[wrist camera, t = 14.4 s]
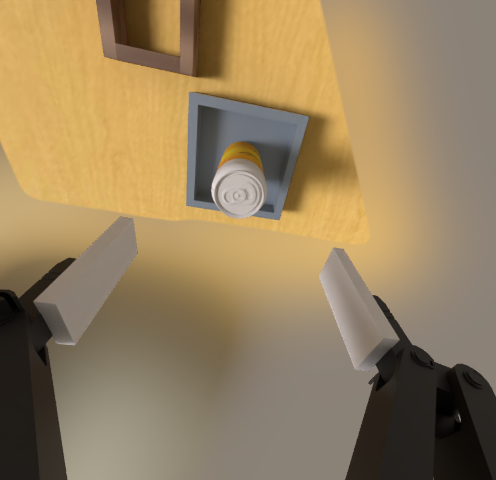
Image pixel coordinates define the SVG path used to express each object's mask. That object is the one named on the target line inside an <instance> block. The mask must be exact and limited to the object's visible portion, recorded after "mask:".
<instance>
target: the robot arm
mask: <svg viewBox="0 0 496 480" xmlns="http://www.w3.org/2000/svg"><path fill="white" fill-rule="evenodd" d="M137 254H138V251H137V244H136V236H135V229H134V221H133V218H127V217H119V218H118V219H117V220H116V221H115V222H114V223H113V224H112V225H111V226H110V227H109V228H108V229H107V230H106V231H105V232H104V233H103V234H102V235H101V236H100V237H99V238H98V239H97V240H96V241H95V242H94V243H93V244H92V245H91V246H90V247H89V248H87V249H86V250H85V252H83V253H82V254H81V255H80V256H79V257H78V258H77V259H75V258H68V259H66V260H64V261H62V262H60V263H58V264H56V265H55V266H54V267H53V268H52V269H51V270H50V271H49V272H48V273H47V274H45V275H44V276H43V277H42V279H41V280H39V281H38V282H36V283H35V284H34V285H33V286H32V287H31V288H30V289H29V290H27V291H26V292H25V293H24V294H23V295H22V296H21V297H20V298H19V299H18V297H17V296H16V294H15V292H13V291H11V290H0V480H67V475H66V467H65V461H64V454H63V447H62V441H61V434H60V427H59V421H58V415H57V407H56V401H55V394H54V387H53V380H52V374H51V368H50V361H49V355H48V348H47V346H46V343H47V341H48V340H49V339H50V338H51V337H52V336H53V338H54V340H55V342H56V343H57V344H68V345H76V343H77V341H78V340H79V339H80V337H81V336H82V334H83V333H84V331H85V330H86V328H87V327H88V325H89V324H90V323H91V321H92V320H93V318H94V317H95V315H96V314H97V312H98V311H99V309H100V307H101V306H102V305H103V303H104V302H105V301H106V299H107V297H108V296H109V295H110V293H111V292H112V290H113V289H114V287H115V286H116V284H117V283H118V281H119V280H120V279H121V277H122V276H123V274H124V273H125V271H126V270H127V268H128V267H129V265H130V264H131V262H132V261H133V259H134V258H135V257H136V255H137ZM319 279H320V281H321V283H322V286H323V289H324V291H325V294H326V297H327V299H328V302H329V304H330V307H331V309H332V311H333V314H334V317H335V319H336V322H337V325H338V327H339V330H340V332H341V335H342V337H343V340H344V342H345V345H346V347H347V350H348V353H349V355H350V357H351V360H352V363H353V365H354V368H355V370H365V371H370V370H371V369H372V367H374V366H375V365H376V366H377V368H378V371H379V372H378V373H377V374H376V375H375V376H374V377H373V378H372V379H371V380H370V381H369V384H370V385H371V384H372V383H373V382H374V384H373V387H372V390H371V394H370V397H369V401H368V404H367V407H366V411H365V414H364V418H363V421H362V424H361V428H360V431H359V435H358V438H357V441H356V445H355V448H354V452H353V455H352V459H351V462H350V465H349V469H348V472H347V476H346V479H345V480H433V478H434V480H496V396H495V394H494V392H493V390H492V388H491V386H490V385H489V383H488V382H487V380H485V378H484V377H483V376H482V375H481V374H480V373H478V372H477V371H476V370H474V369H472V368H471V367H469V366H467V365H464V364H456V365H455V366H454V367H453V368H449V367H446V366H443V365H441V364H438V363H436V362H434V360H433V359H432V358H431V357H430V355H429V354H428V353H426V352H425V351H424V350H423V349H421V348H419V347H417V346H414V345H412V344H411V342H410V341H409V339H408V338H407V336H406V335H405V333H404V332H403V330H402V329H401V327H400V325H399V324H398V322H397V321H396V320H395V319H394V316H393V315H392V313H390V310H389V309H388V307H387V306H386V304H385V303H384V302H383V301H382V300H381V299H380V298H379V297H378V296H375V295H372V294H371V292H370V291H369V290H368V288H367V286H366V284H365V283H364V281H363V280H362V278H361V276H360V275H359V273H358V271H357V270H356V268H355V267H354V265H353V263H352V262H351V260H350V259H349V257H348V255H347V254H346V253H345V251H344V249H340V248H333V249H332V251H331V253H330V255H329V257H328V259H327V261H326V263H325V265H324V267H323V269H322V272H321V273H320V276H319ZM458 414H459V415H460V418H461V422H460V420H459V417H458Z"/></svg>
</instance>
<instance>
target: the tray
mask: <svg viewBox="0 0 496 480" xmlns="http://www.w3.org/2000/svg"><path fill="white" fill-rule="evenodd" d="M308 119H309V116H306V115H303V114H298V113H293V112H288V111H284V110H279V109H274V108H269V107H264V106H260V105H255V104H250V103H245V102H240V101H235V100H231V99H226V98H221V97H216V96H211V95H207V94H202V93H197V92H189V114H188V158H187V201H186V206H191V207H198V208H204V209H210V210H217V211H221V210H220V209H219V208H218V207H217V205H216V204H215V202H214V200H213V197H212V192H211V187H212V182H213V180H214V177H215V174H216V172H217V169H218V167H219V164H220V162H221V159H222V157H223V154H224V152H225V150H226V149H227V147H228V146H230V145H231V144H232V143H235V142H238V141H244V142H248V143H250V144H252V145H253V146H254V147H255V148H256V149H257V150H258V152H259V154H260V158H261V163H262V167H263V172H264V176H265V180H266V185H267V197H266V200H265V202H264V204H263V206H262V207H261V208H260V209H259V210H258V211H257V212H256V213H255V214H253V215H252V216H255V217H262V218H268V219H275V220H280V216H281V213H282V210H283V206H284V203H285V199H286V196H287V192H288V189H289V185H290V182H291V178H292V175H293V171H294V168H295V164H296V161H297V158H298V154H299V151H300V147H301V144H302V140H303V137H304V133H305V130H306V126H307V123H308Z"/></svg>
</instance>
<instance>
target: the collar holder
mask: <svg viewBox="0 0 496 480" xmlns="http://www.w3.org/2000/svg"><path fill="white" fill-rule="evenodd" d="M200 3H201V0H180V57H175V56H171V55H166V54H162V53H157V52H153V51H148V50H144V49H139V48H135V47H130V46H128V37H127V26H126V16H125V5H124V0H96V4H97V11H98V18H99V25H100V32H101V39H102V46H103V53H104V57H107V58H111V59H115V60H118V61H123V62H128V63H132V64H137V65H142V66H146V67H151V68H156V69H160V70H165V71H170V72H174V73H179V74H184V75H188V76H193V77H198V54H199V28H200Z"/></svg>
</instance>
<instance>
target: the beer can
mask: <svg viewBox="0 0 496 480" xmlns="http://www.w3.org/2000/svg"><path fill="white" fill-rule="evenodd" d="M211 192H212V197H213V200H214V202H215V204H216V205H217V207H218V208H219V209H220V210H221V211H222V212H223V213H224V214H226V215H227V216H229V217H232V218H247V217H250V216H252V215H253V214H255V213H256V212H257V211H258V210H259V209H260V208H261V207H262V206H263V204H264V202H265V200H266V197H267V185H266V180H265V176H264V172H263V167H262V163H261V158H260V154H259V152H258V150H257V149H256V148H255V147H254V146H253V145H252V144H250V143H248V142H244V141H238V142H235V143H232V144H231V145H230V146H228V147H227V149H226V150H225V152H224V154H223V157H222V159H221V162H220V164H219V167H218V169H217V172H216V174H215V177H214V180H213V182H212V187H211Z"/></svg>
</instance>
